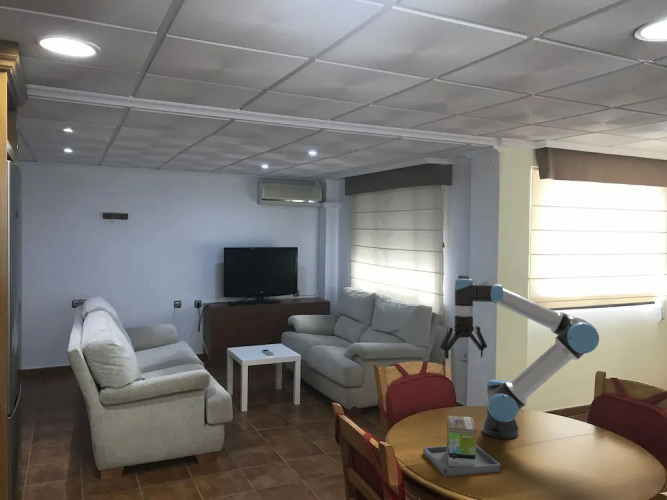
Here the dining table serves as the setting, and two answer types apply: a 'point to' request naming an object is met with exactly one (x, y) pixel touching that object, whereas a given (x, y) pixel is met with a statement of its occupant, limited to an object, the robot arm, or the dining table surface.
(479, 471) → the tray
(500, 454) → the dining table surface
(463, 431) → the tea box
